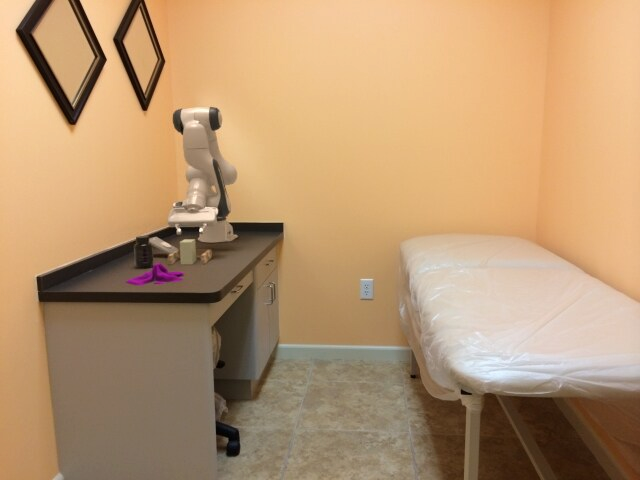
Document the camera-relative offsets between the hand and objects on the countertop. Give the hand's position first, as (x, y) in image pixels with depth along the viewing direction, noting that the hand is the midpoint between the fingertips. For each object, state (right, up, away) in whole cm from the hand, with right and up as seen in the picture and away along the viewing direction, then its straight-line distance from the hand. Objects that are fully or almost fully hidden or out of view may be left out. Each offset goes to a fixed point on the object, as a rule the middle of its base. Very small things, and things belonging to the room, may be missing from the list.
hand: (190, 233), depth 205 cm
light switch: (-14, -10, +12) cm, 21 cm away
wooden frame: (0, -11, 0) cm, 11 cm away
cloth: (-2, -17, -29) cm, 34 cm away
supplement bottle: (-15, -13, -9) cm, 22 cm away
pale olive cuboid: (0, -12, -3) cm, 12 cm away
